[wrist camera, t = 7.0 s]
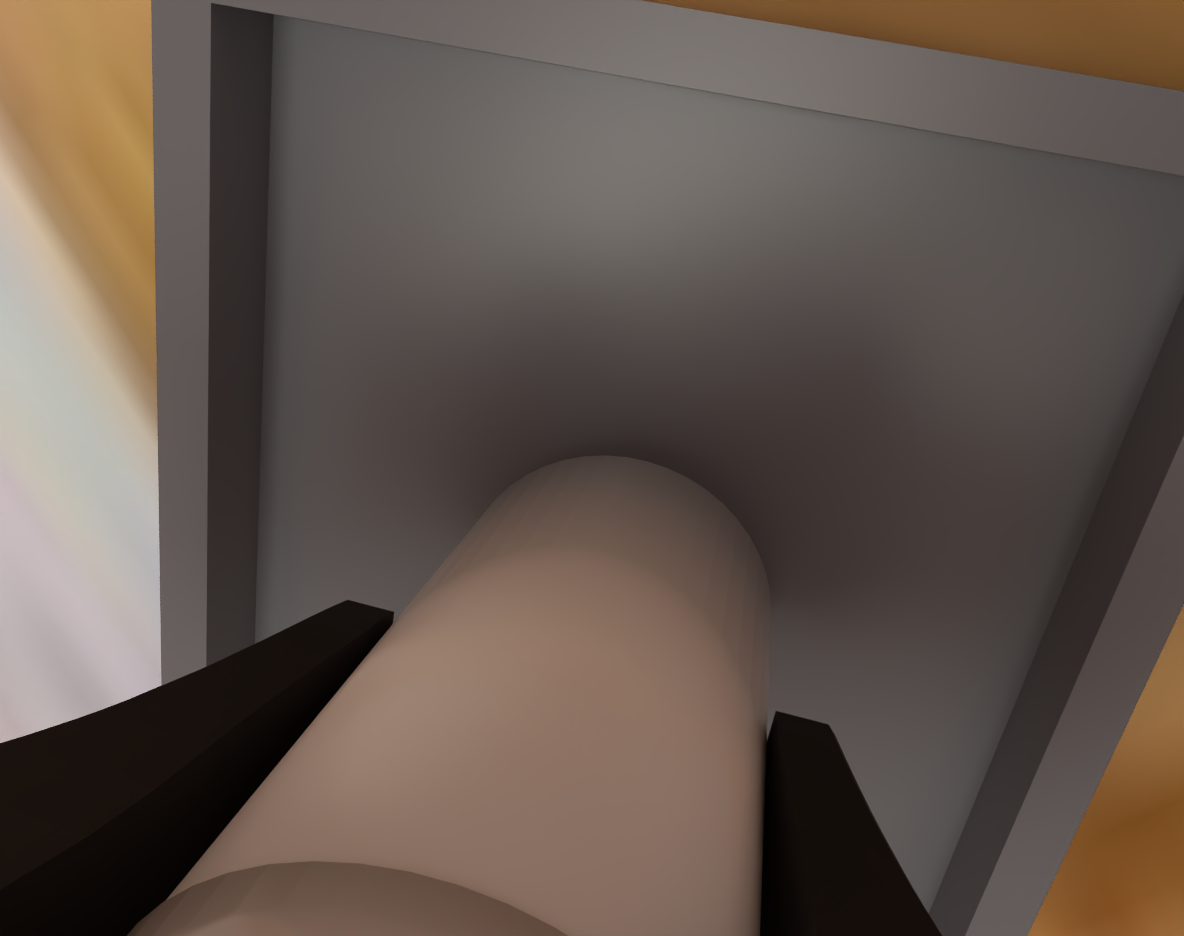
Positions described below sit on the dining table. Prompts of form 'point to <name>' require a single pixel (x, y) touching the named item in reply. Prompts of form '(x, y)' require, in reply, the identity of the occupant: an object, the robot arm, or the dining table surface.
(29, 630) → the dining table surface
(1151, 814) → the dining table surface
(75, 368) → the dining table surface
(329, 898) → the salt shaker
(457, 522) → the tray
